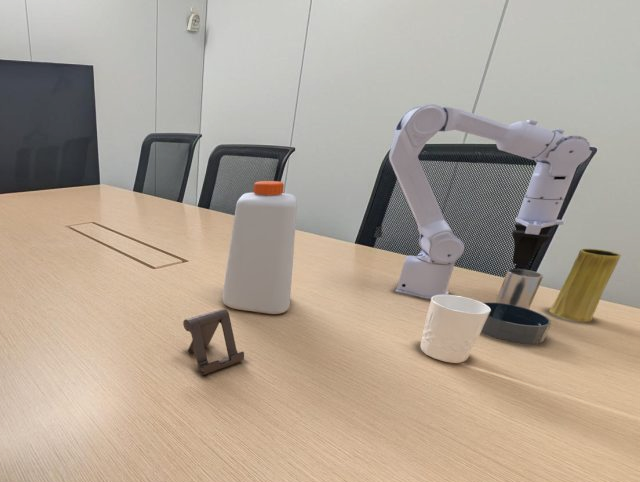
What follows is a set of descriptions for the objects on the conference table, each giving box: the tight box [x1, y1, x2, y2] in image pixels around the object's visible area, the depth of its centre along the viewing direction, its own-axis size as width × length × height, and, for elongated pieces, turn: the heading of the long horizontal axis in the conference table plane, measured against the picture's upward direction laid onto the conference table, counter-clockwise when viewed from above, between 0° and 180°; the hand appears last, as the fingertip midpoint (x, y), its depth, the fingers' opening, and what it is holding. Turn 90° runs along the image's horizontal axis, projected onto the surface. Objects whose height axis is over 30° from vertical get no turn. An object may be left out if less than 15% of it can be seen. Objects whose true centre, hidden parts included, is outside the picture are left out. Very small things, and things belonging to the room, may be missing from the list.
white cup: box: [419, 294, 491, 364], centre depth 66 cm, size 8×8×10 cm
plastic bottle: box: [221, 180, 298, 315], centre depth 86 cm, size 15×15×28 cm
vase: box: [549, 248, 622, 322], centre depth 77 cm, size 6×6×14 cm
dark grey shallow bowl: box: [480, 301, 552, 345], centre depth 74 cm, size 11×11×4 cm
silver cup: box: [495, 268, 544, 310], centre depth 81 cm, size 5×5×9 cm
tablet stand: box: [182, 308, 245, 376], centre depth 66 cm, size 9×8×8 cm
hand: (520, 260), depth 83 cm, fingers open, 7 cm apart
